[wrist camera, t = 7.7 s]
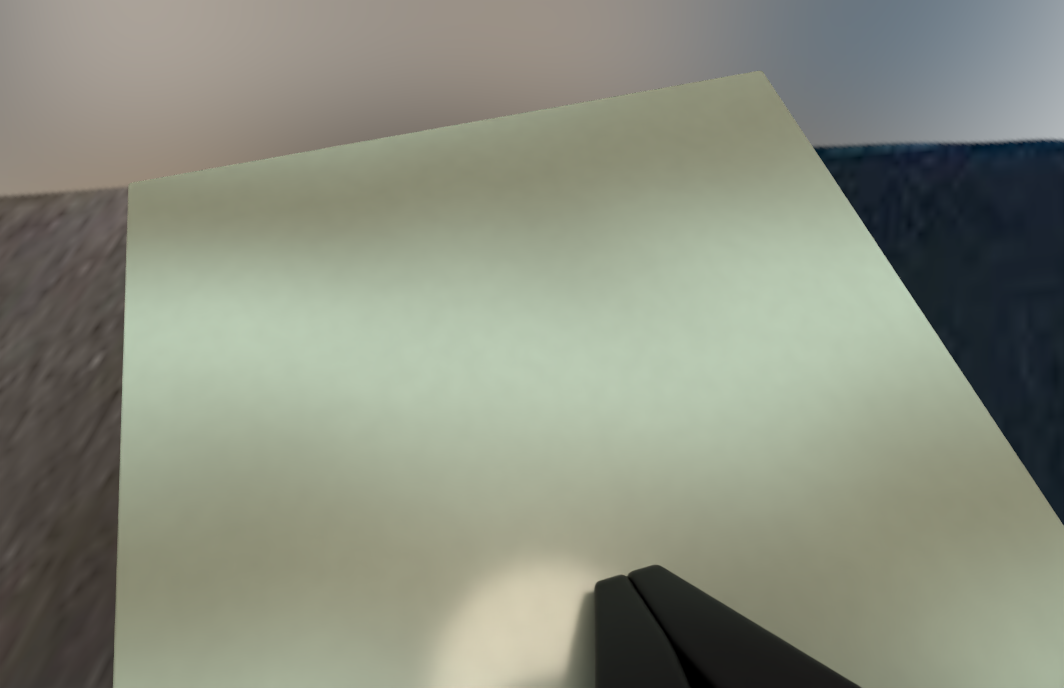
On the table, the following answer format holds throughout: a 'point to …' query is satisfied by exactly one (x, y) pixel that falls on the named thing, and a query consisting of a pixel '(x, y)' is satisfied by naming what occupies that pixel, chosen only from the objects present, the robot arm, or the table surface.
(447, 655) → the box lid
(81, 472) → the table surface
